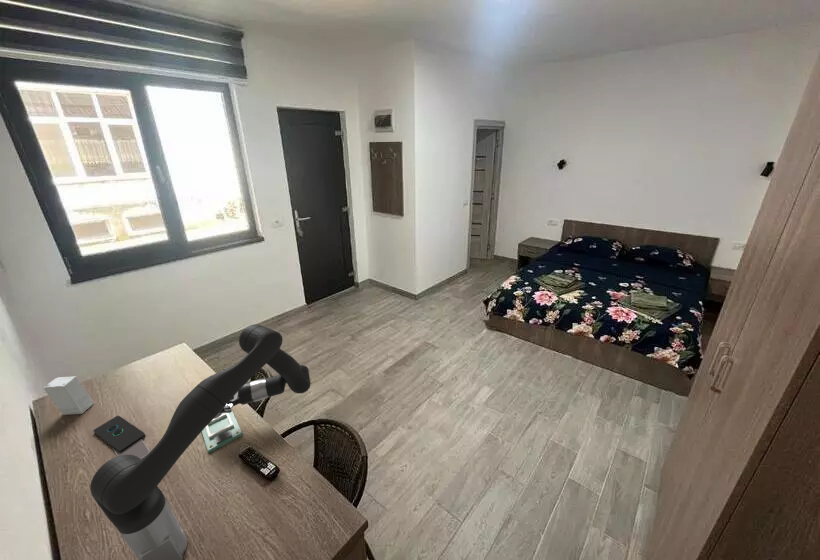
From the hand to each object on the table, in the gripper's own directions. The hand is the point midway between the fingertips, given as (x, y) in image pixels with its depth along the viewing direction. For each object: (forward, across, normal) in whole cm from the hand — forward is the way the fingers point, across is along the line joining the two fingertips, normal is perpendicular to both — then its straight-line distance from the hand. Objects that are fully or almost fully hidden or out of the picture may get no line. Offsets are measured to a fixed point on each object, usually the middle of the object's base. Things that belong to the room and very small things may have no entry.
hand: (202, 404), depth 114 cm
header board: (-3, 0, +13) cm, 13 cm away
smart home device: (+32, -11, +13) cm, 36 cm away
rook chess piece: (-3, 0, +6) cm, 7 cm away
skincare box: (+54, -32, +12) cm, 64 cm away
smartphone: (+26, -1, +13) cm, 29 cm away
